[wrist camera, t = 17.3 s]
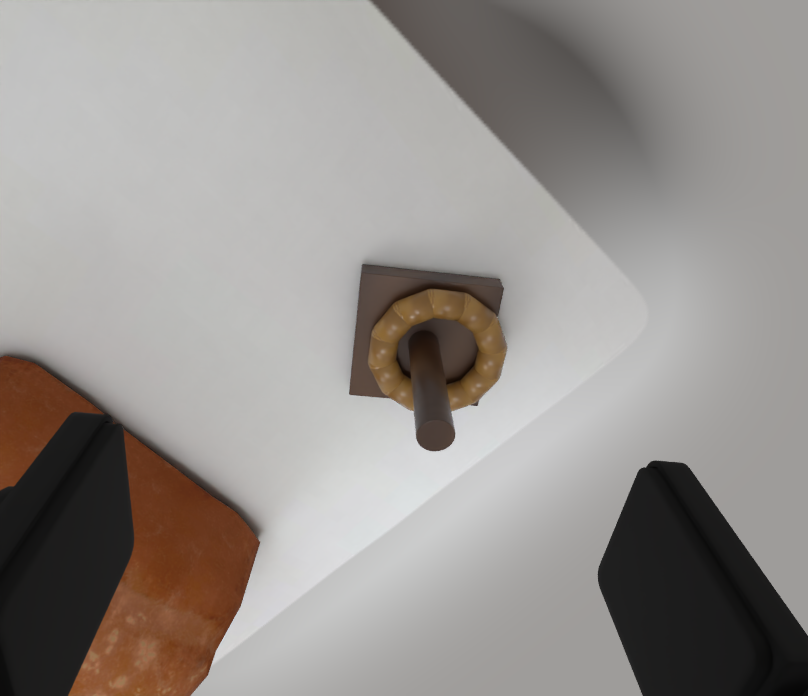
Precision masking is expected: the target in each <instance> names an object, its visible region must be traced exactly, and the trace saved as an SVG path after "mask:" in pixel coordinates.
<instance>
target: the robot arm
mask: <svg viewBox="0 0 808 696" xmlns="http://www.w3.org/2000/svg"><path fill="white" fill-rule="evenodd" d="M133 547H134V528H133V518H132V509H131V499H130V489H129V479H128V470H127V460H126V450H125V440H124V431H123V427H122V425H121V424H113V419H112V417H111V416H110V415H108V414H96V413H84V412H73V413H71V414H70V415H69V416H68V417H67V419H66V420H65V421H64V423H63V424H62V425H61V426H60V428H59V429H58V430H57V432H56V433H55V434H54V435H53V437H52V438H51V439H50V441H49V442H48V443H47V445H46V446H45V447H44V448H43V450H42V451H41V452H40V454H39V455H38V456H37V457H36V459H35V460H34V461H33V463H32V464H31V465H30V467H29V468H28V469H27V470H26V472H25V473H24V474H23V476H22V477H21V478H20V479H19V481H18V482H17V483H16V485H15V486H8V487H6V488H4V489H2V490H1V491H0V696H68V695H69V693H70V690H71V688H72V686H73V684H74V682H75V679H76V677H77V675H78V673H79V671H80V668H81V666H82V664H83V662H84V660H85V657H86V655H87V653H88V651H89V649H90V646H91V644H92V642H93V640H94V638H95V635H96V633H97V631H98V629H99V626H100V624H101V622H102V620H103V618H104V615H105V613H106V611H107V609H108V607H109V604H110V602H111V600H112V598H113V596H114V593H115V591H116V589H117V587H118V585H119V582H120V580H121V578H122V576H123V574H124V571H125V569H126V567H127V565H128V563H129V560H130V558H131V555H132V551H133ZM598 582H599V586H600V589H601V592H602V594H603V597H604V599H605V602H606V604H607V607H608V609H609V612H610V614H611V617H612V619H613V622H614V624H615V627H616V629H617V632H618V635H619V637H620V640H621V642H622V645H623V647H624V649H625V652H626V655H627V657H628V660H629V662H630V665H631V667H632V670H633V672H634V675H635V677H636V680H637V682H638V685H639V687H640V690H641V692H642V695H643V696H808V636H807V634H806V633H805V631H804V630H803V628H802V627H801V626H800V624H799V623H798V621H797V620H796V619H795V617H794V616H793V614H792V613H791V611H790V610H789V609H788V607H787V606H786V604H785V603H784V602H783V600H782V599H781V598H780V596H779V594H778V593H777V592H776V590H775V589H774V587H773V586H772V585H771V583H770V582H769V580H768V579H767V577H766V576H765V575H764V573H763V572H762V570H761V569H760V567H759V566H758V565H757V563H756V562H755V560H754V559H753V558H752V556H751V555H750V554H749V552H748V551H747V549H746V548H745V546H744V545H743V544H742V542H741V541H740V539H739V538H738V536H737V535H736V533H735V532H734V531H733V529H732V528H731V526H730V525H729V523H728V522H727V521H726V519H725V518H724V516H723V515H722V514H721V512H720V511H719V509H718V508H717V506H716V505H715V504H714V502H713V501H712V499H711V498H710V497H709V495H708V494H707V492H706V491H705V489H704V488H703V487H702V485H701V484H700V482H699V481H698V480H697V478H696V477H695V475H694V474H693V472H692V471H691V470H690V468H689V467H688V466H687V465H686V464H683V463H677V462H666V461H652V462H650V463H649V464H648V466H647V467H646V468H641V469H640V470H639V471H638V473H637V476H636V478H635V480H634V483H633V485H632V488H631V490H630V493H629V495H628V497H627V500H626V503H625V505H624V507H623V510H622V512H621V514H620V517H619V519H618V522H617V524H616V527H615V529H614V531H613V534H612V536H611V539H610V541H609V544H608V546H607V548H606V551H605V553H604V556H603V558H602V561H601V563H600V566H599V570H598Z"/></svg>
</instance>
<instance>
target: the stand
mask: <svg viewBox="0 0 808 696" xmlns="http://www.w3.org/2000/svg"><path fill="white" fill-rule="evenodd" d="M427 289H441V290H449V291H457V292H465V293H468V294H469V295H471V296H472V297H474V298H475V299H476V300H478V301H479V302H480V303H482V304H483V305H484V306H486V307H487V308H489V309H490V310H491V311H493V312H494V313H495V314H496V316H497V317H498V312H499V308H500V303H501V299H502V294H503V290H504V287H503V285H502V283H501V281H500V279H492V278H483V277H474V276H465V275H455V274H446V273H437V272H427V271H418V270H409V269H400V268H390V267H381V266H372V265H362V270H361V280H360V290H359V300H358V310H357V320H356V330H355V340H354V350H353V360H352V370H351V380H350V391H349V394H350V395H359V396H370V397H381V398H390V397H388V396H386V395H385V394H384V393H383V392H382V391H381V389H380V387H379V385H378V383H377V381H376V379H375V377H374V375H373V373H372V371H371V369H370V367H369V365H368V355H369V347H370V339H371V333H372V329H373V327H374V326H375V325H376V324H377V322H378V321H379V320H380V319H381V318H382V317H383V315H384V314H385V313H386V312H387V311H388V309H389V308H390V307H391V306H392V305H393V304H394V303H395V302H396V301H398V300H401V299H403V298H406V297H408V296H411V295H414V294H416V293H419V292H422V291H424V290H427ZM477 352H478V346H477V343H476V341H475V338H474V336H473V333H472V332H471V331H470V330H468V329H467V328H466V327H464V326H463V325H461V324H460V323H459V322H457V321H455V320H446V319H437V318H433V319H430V320H427V321H424V322H422V323H419V324H416V325H414V326H412V327H411V328H410V329H409V330H408V331H407V333H406V334H405V335H404V336H403V337H402V338H401V339H400V341H399V343H398V350H397V356H396V360H397V362H398V364H399V366H400V368H401V370H402V372H403V374H404V375H405V376H407V377H408V378H410V379H411V383H412V394H413V405H414V417H415V428H416V439H417V442H418V443H419V445H420V446H421V447H423V448H424V449H426V450H429V451H440V450H443V449H446V448H447V447H449V446H450V445H451V444H452V442H453V441H454V438H455V429H454V424H453V419H452V413H451V408H450V402H449V397H448V391H447V386H446V385H447V384H450V383H453V382H456V381H458V380H461V379H462V378H463V377H464V376H465V375H466V374H467V373H468V372H469V371H470V370H471V368H472V367H473V366H474V365H475V361H476V357H477ZM478 402H479V400H478V401H477V402H476V403H474V404H471V405H473V406H478Z"/></svg>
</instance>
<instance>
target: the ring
mask: <svg viewBox="0 0 808 696" xmlns="http://www.w3.org/2000/svg"><path fill="white" fill-rule="evenodd" d="M433 318H437V319H446V320H455V321H457V322H459V323H460V324H461V325H463V326H464V327H466V328H467V329H468V330H470V331H471V332H472V333H473V336H474V338H475V341H476V343H477V346H478V352H477V357H476V361H475V365H474V366H473V367H472V368H471V370H470V371H469V372H468V373H467V374H466V375H465V376H464V377H463V378H462V379H461V380H458V381H456V382H453V383H450V384H447V385H446V386H447V391H448V397H449V402H450V408H451V411H454V410H457V409H460V408H463V407H466V406H468V405H471V404H474V403H476V402H477V401H478V400H479V399H480V398H481V397H482V396H483V395H484V394H485V393H486V392H487V391H488V390H489V389H490V388H491V387H492V386H493V385H494V384H495V383H496V382H497V381H498V380H499V378H500V375H501V371H502V367H503V364H504V360H505V356H506V352H507V343H506V340H505V337H504V334H503V332H502V329H501V326H500V323H499V321H498V318H497V316H496V314H495V313H494V312H493V311H491V310H490V309H489V308H487V307H486V306H484V305H483V304H482V303H480V302H479V301H478V300H476V299H475V298H474V297H472V296H471V295H469V294H468V293H465V292H457V291H449V290H441V289H427V290H424V291H422V292H419V293H416V294H414V295H411V296H408V297H406V298H403V299H401V300H398V301H396V302H395V303H394V304H393V305H392V306H391V307H390V308H389V309H388V311H387V312H386V313H385V314H384V315H383V317H382V318H381V319H380V320H379V321H378V322H377V324H376V325H375V326H374V327H373V329H372V333H371V339H370V347H369V355H368V365H369V367H370V369H371V371H372V373H373V375H374V377H375V379H376V381H377V383H378V385H379V387H380V389H381V391H382V392H383V393H384V394H385V395H386V396H388V397H390V398H391V399H393V400H394V401H396V402H397V403H399V404H401V405H402V406H404V407H405V408H407V409H408V410H411V411H414V405H413V394H412V383H411V379H410V378H408V377H407V376H405V375H404V374H403V372H402V370H401V368H400V366H399V364H398V362H397V360H396V356H397V350H398V343H399V341H400V339H401V338H402V337H403V336H404V335H405V334H406V333H407V331H408V330H409V329H410V328H411V327H412V326H414V325H416V324H419V323H422V322H424V321H427V320H430V319H433Z"/></svg>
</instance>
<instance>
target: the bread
mask: <svg viewBox="0 0 808 696" xmlns="http://www.w3.org/2000/svg"><path fill="white" fill-rule="evenodd" d="M73 412H84V413H96V414H104V413H102V412H101V411H100V410H99V409H97V408H96V407H95V406H94V405H93V404H91V403H90V402H89V401H87V400H86V399H84V398H83V397H82V396H80V395H79V394H77V393H76V392H75V391H73V390H72V389H70V388H69V387H68V386H66V385H65V384H63V383H62V382H61V381H59V380H58V379H56V378H55V377H54V376H52V375H51V374H49V373H48V372H47V371H45V370H44V369H42V368H41V367H40V366H38V365H37V364H35V363H33V362H29V361H25V360H21V359H17V358H13V357H9V356H3V357H0V491H1V490H2V489H4V488H6V487H8V486H15V485H16V483H17V482H18V481H19V479H20V478H21V477H22V476H23V474H24V473H25V472H26V470H27V469H28V468H29V467H30V465H31V464H32V463H33V461H34V460H35V459H36V457H37V456H38V455H39V454H40V452H41V451H42V450H43V448H44V447H45V446H46V445H47V443H48V442H49V441H50V439H51V438H52V437H53V435H54V434H55V433H56V432H57V430H58V429H59V428H60V426H61V425H62V424H63V423H64V421H65V420H66V419H67V417H68V416H69V415H70V414H71V413H73ZM113 424H116V423H115V422H113ZM123 431H124V440H125V450H126V460H127V470H128V479H129V489H130V499H131V509H132V518H133V528H134V547H133V551H132V555H131V558H130V560H129V563H128V565H127V567H126V569H125V571H124V574H123V576H122V578H121V580H120V582H119V585H118V587H117V589H116V591H115V593H114V596H113V598H112V600H111V602H110V604H109V607H108V609H107V611H106V613H105V615H104V618H103V620H102V622H101V624H100V626H99V629H98V631H97V633H96V635H95V638H94V640H93V642H92V644H91V646H90V649H89V651H88V653H87V655H86V657H85V660H84V662H83V664H82V666H81V668H80V671H79V673H78V675H77V677H76V679H75V682H74V684H73V686H72V688H71V690H70V693H69V695H68V696H190V695H191V694H192V693H193V692H194V691H195V690H196V688H197V687H198V686H199V685H200V684H201V683H202V681H203V680H204V679H205V678H206V677H207V675H208V673H209V670H210V667H211V664H212V661H213V658H214V655H215V652H216V650H217V648H218V646H219V644H220V642H221V641H222V639H223V637H224V635H225V633H226V632H227V630H228V628H229V626H230V624H231V623H232V621H233V619H234V617H235V615H236V614H237V612H238V610H239V608H240V606H241V603H242V600H243V597H244V593H245V590H246V587H247V583H248V580H249V577H250V574H251V570H252V567H253V564H254V560H255V557H256V554H257V551H258V547H259V544H260V542H259V540H258V539H257V537H256V536H255V534H254V533H253V532H252V530H251V529H250V528H249V526H248V525H247V524H246V523H245V522H244V520H243V519H242V518H241V517H240V515H239V514H238V513H237V512H235V511H234V510H232V509H231V508H229V507H228V506H226V505H225V504H223V503H222V502H220V501H219V500H217V499H216V498H214V497H213V496H211V495H210V494H209V493H207V492H206V491H205V490H203V489H202V488H201V487H200V486H198V485H197V484H196V483H194V482H193V481H192V480H190V479H189V478H188V477H186V476H185V475H184V474H182V473H181V472H180V471H178V470H177V469H176V468H174V467H173V466H172V465H170V464H169V463H168V462H166V461H165V460H164V459H162V458H161V457H160V456H158V455H157V454H156V453H154V452H153V451H152V450H151V449H149V448H148V447H147V446H145V445H144V444H143V443H141V442H140V441H139V440H137V439H136V438H135V437H133V436H132V435H131V434H129V433H128V432H127V431H125V430H124V429H123Z"/></svg>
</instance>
